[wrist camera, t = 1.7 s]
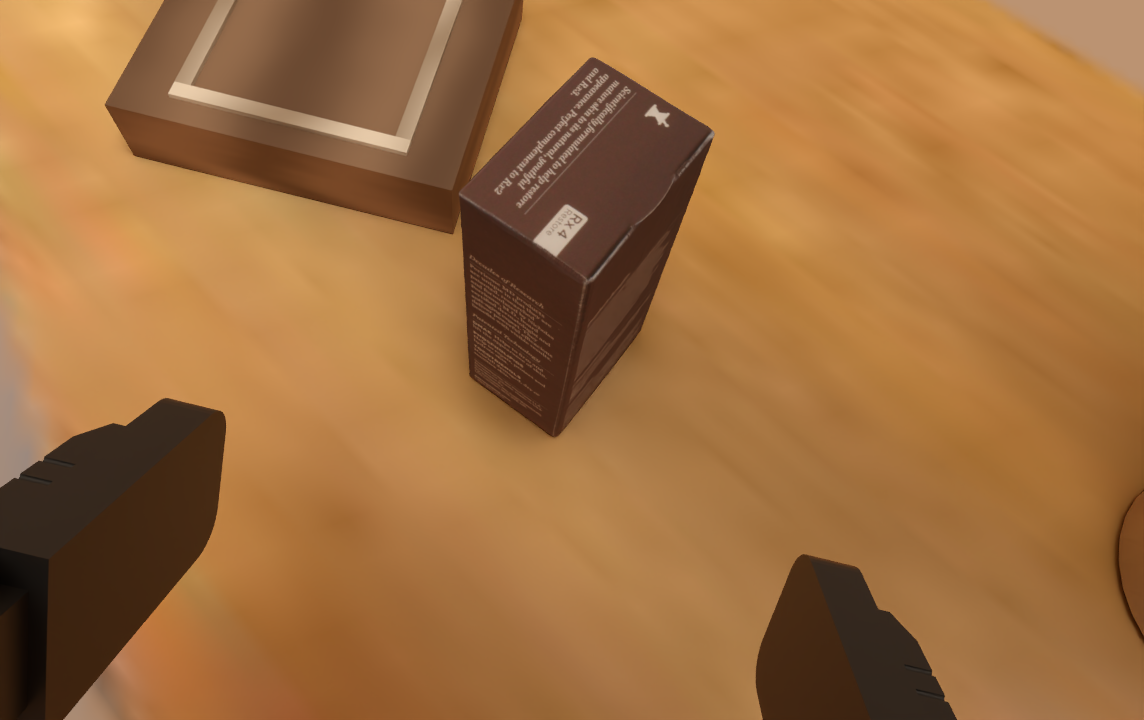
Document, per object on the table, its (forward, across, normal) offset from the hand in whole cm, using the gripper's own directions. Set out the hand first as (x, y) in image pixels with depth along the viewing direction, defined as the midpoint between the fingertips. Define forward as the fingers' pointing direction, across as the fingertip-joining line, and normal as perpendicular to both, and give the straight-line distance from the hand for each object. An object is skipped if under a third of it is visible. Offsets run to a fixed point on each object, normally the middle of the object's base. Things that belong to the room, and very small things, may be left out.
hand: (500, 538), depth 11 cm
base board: (+27, +11, -2) cm, 30 cm away
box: (+20, 0, +5) cm, 21 cm away
